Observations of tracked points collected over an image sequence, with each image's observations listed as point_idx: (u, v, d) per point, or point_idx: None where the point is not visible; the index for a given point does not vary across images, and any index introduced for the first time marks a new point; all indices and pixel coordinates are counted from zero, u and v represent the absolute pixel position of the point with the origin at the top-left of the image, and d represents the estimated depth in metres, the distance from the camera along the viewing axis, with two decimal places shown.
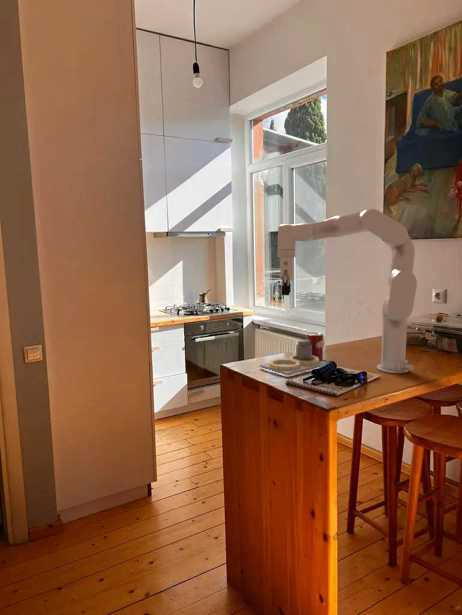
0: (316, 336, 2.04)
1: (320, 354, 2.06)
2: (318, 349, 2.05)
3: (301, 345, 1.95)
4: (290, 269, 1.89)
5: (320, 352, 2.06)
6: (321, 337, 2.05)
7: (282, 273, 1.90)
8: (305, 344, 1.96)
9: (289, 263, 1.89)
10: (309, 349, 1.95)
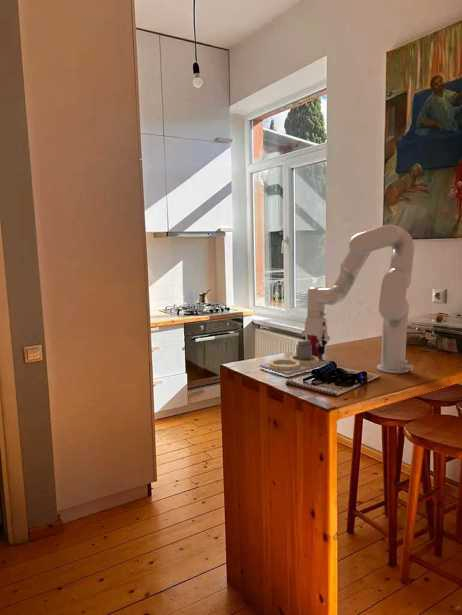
0: (316, 336, 2.04)
1: None
2: (318, 349, 2.05)
3: (301, 345, 1.95)
4: (326, 329, 2.05)
5: None
6: None
7: (322, 335, 2.03)
8: (305, 344, 1.96)
9: (326, 323, 2.04)
10: (309, 349, 1.95)
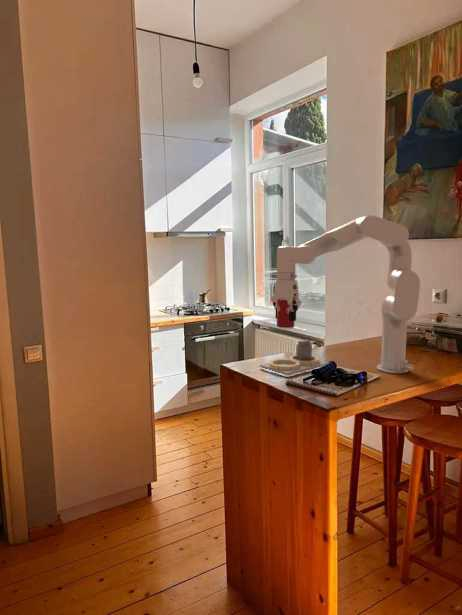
0: (286, 300, 1.84)
1: (291, 321, 1.85)
2: (289, 315, 1.84)
3: (301, 345, 1.95)
4: (298, 292, 1.84)
5: None
6: (292, 302, 1.84)
7: (292, 299, 1.82)
8: (305, 344, 1.96)
9: (297, 286, 1.84)
10: (309, 349, 1.95)
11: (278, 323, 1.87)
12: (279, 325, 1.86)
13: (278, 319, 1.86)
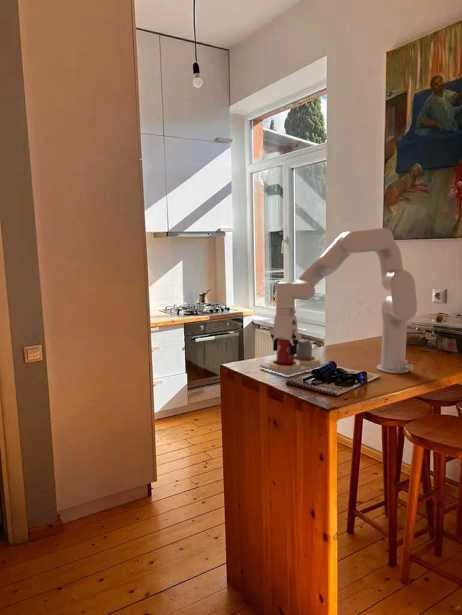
0: (287, 340, 1.86)
1: (291, 360, 1.88)
2: (289, 355, 1.87)
3: (301, 345, 1.95)
4: (297, 328, 1.86)
5: (291, 358, 1.87)
6: None
7: (291, 333, 1.84)
8: (305, 344, 1.96)
9: (296, 322, 1.85)
10: (309, 349, 1.95)
11: (278, 361, 1.89)
12: (279, 364, 1.88)
13: (278, 358, 1.88)
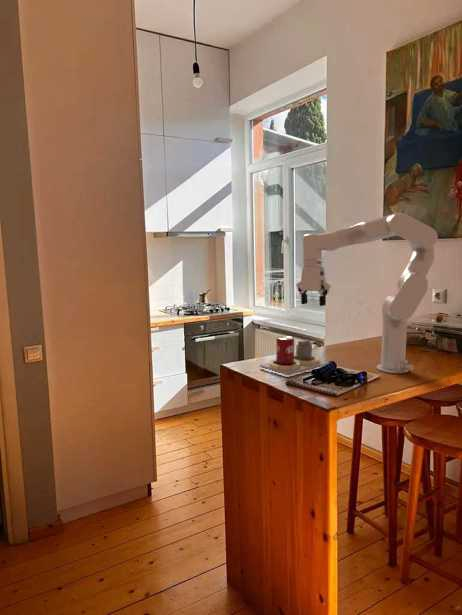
0: (286, 340, 1.86)
1: (290, 360, 1.88)
2: (289, 355, 1.87)
3: (301, 345, 1.95)
4: (325, 279, 1.88)
5: (290, 358, 1.87)
6: (291, 341, 1.87)
7: (320, 283, 1.86)
8: (305, 344, 1.96)
9: (324, 273, 1.88)
10: (309, 349, 1.95)
11: (278, 362, 1.89)
12: (279, 364, 1.88)
13: (278, 358, 1.88)
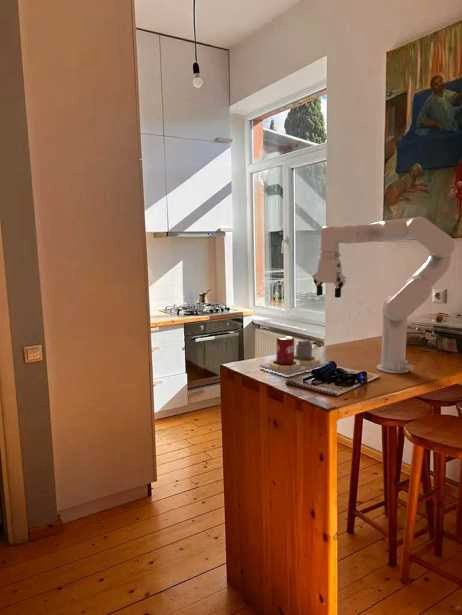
0: (286, 340, 1.86)
1: (291, 360, 1.88)
2: (289, 355, 1.87)
3: (301, 345, 1.95)
4: (341, 271, 1.91)
5: (291, 358, 1.87)
6: (292, 341, 1.87)
7: (336, 275, 1.89)
8: (305, 344, 1.96)
9: (340, 265, 1.90)
10: (309, 349, 1.95)
11: (278, 362, 1.89)
12: (279, 364, 1.88)
13: (278, 358, 1.88)
